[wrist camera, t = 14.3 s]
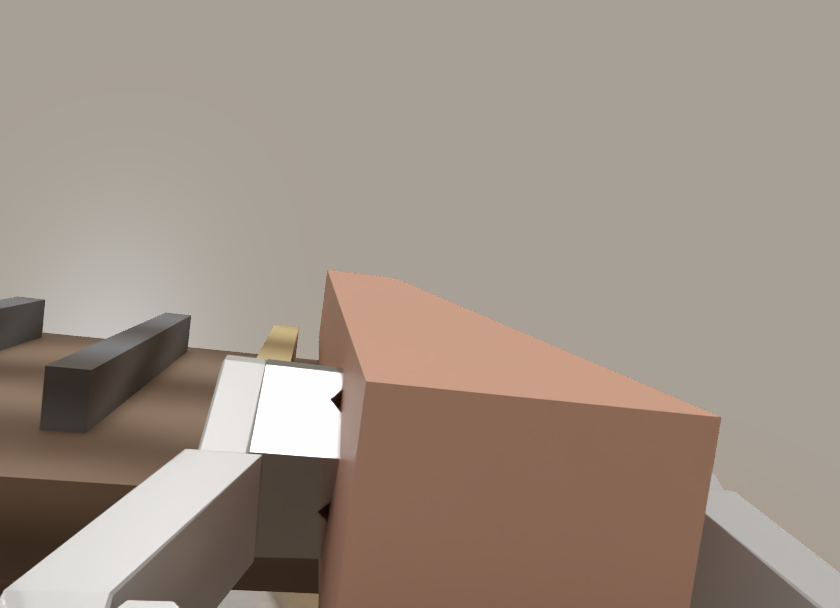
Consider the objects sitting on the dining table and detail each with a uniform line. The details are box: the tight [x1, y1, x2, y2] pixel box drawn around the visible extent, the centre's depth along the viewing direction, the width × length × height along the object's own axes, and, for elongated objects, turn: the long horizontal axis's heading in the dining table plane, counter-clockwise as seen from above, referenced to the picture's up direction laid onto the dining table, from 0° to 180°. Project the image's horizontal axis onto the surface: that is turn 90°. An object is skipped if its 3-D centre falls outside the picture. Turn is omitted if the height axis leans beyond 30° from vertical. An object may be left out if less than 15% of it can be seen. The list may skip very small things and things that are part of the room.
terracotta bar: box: [319, 270, 721, 608], centre depth 17 cm, size 24×3×3 cm, turn 9°
